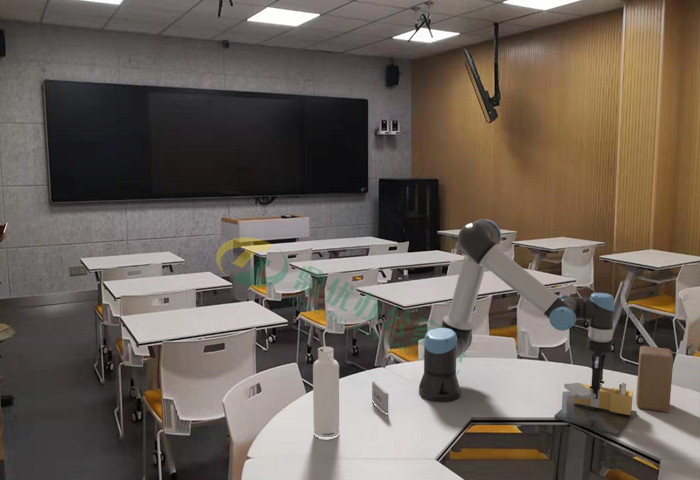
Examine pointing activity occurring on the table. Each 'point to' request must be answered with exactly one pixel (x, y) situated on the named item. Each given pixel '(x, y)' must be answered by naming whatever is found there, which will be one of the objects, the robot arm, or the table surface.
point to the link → (610, 400)
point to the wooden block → (654, 378)
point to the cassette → (380, 397)
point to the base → (599, 417)
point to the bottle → (326, 393)
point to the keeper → (568, 397)
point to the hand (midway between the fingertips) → (595, 403)
